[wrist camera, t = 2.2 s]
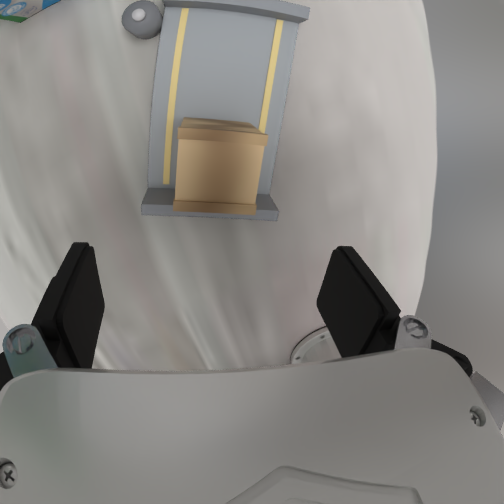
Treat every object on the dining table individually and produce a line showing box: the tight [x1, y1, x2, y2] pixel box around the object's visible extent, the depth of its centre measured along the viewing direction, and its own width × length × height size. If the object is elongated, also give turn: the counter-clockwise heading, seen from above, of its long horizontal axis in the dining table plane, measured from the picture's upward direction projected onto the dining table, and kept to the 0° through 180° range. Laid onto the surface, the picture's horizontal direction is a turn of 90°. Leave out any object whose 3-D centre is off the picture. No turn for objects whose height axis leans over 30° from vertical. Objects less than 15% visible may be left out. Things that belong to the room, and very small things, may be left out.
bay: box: [122, 0, 310, 221], centre depth 23 cm, size 15×20×5 cm
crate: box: [173, 117, 269, 215], centre depth 24 cm, size 6×6×7 cm
